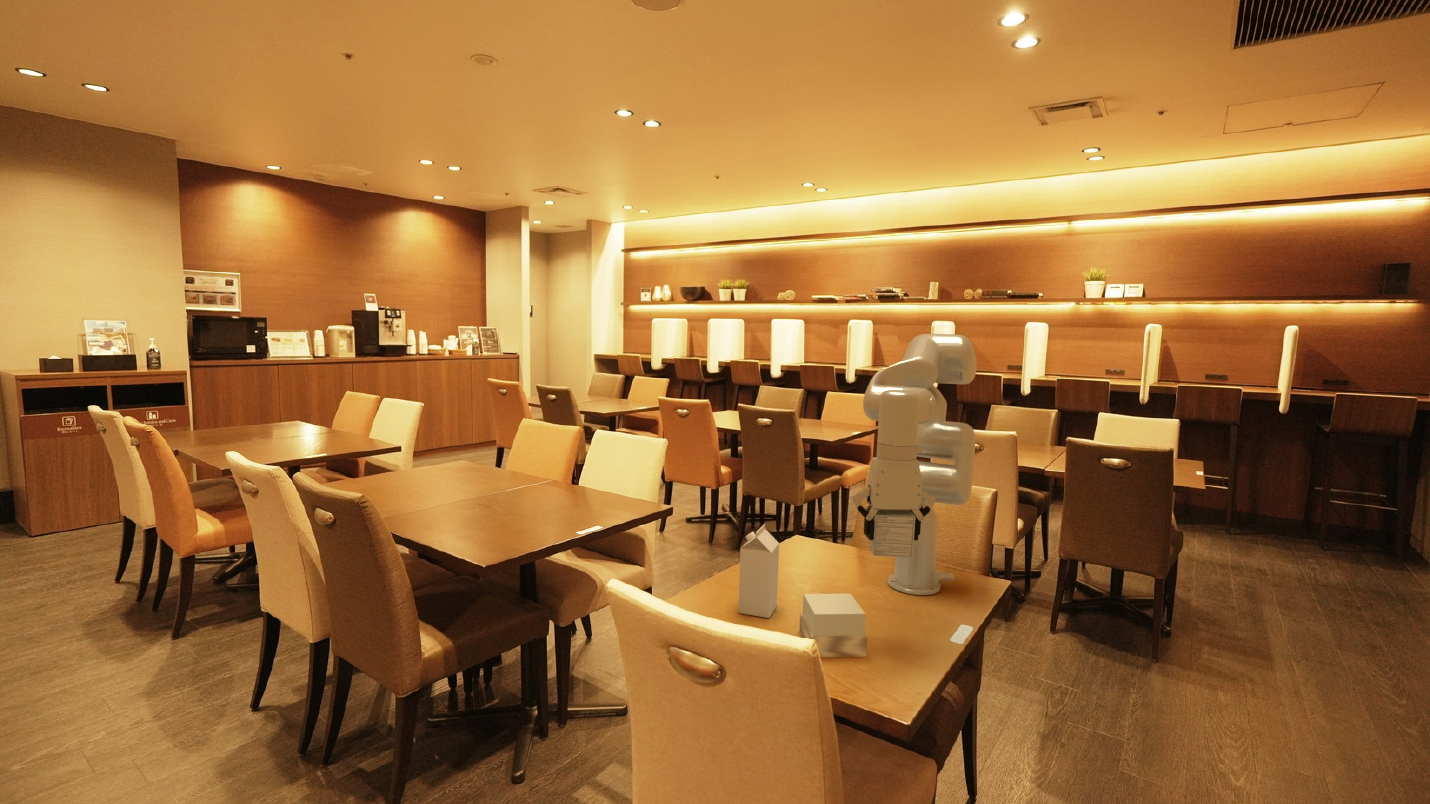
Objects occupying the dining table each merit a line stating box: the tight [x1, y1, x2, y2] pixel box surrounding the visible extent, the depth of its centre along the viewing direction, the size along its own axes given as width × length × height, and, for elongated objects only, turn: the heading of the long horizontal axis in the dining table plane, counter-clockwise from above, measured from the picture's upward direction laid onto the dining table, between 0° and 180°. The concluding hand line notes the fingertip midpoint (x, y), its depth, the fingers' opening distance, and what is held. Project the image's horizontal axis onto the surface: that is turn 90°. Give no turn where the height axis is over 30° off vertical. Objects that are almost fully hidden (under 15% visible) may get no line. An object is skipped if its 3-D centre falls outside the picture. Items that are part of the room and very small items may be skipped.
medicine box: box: [869, 510, 915, 558], centre depth 133 cm, size 8×4×9 cm, turn 86°
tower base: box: [798, 612, 868, 658], centre depth 135 cm, size 11×11×4 cm
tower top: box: [802, 593, 866, 637], centre depth 135 cm, size 10×10×4 cm
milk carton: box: [737, 523, 780, 619], centre depth 150 cm, size 7×7×19 cm
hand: (891, 537), depth 134 cm, fingers closed on medicine box, 8 cm apart
